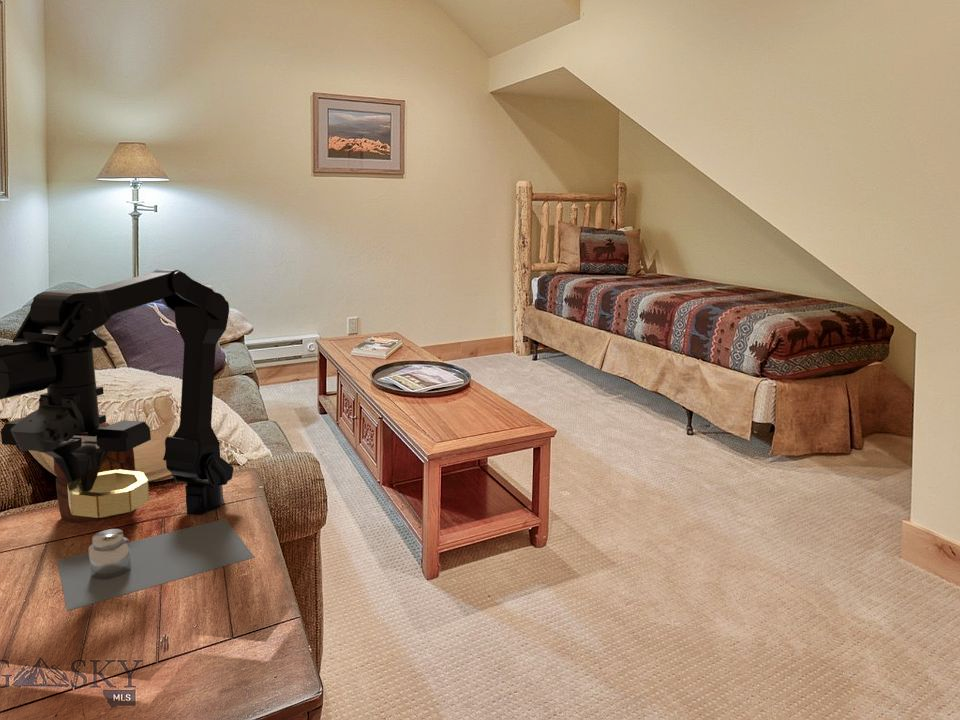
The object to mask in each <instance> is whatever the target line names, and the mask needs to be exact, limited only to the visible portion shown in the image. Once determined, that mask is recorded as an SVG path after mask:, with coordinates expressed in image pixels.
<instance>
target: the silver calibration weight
mask: <svg viewBox="0 0 960 720" xmlns="http://www.w3.org/2000/svg"><path fill="white" fill-rule="evenodd" d="M91 539H92V543H91V544H90V545H89V546H88V552H89V558H90V567H91V576H92V577H93V578H95V579H100V580H104V579H111V578H115V577H118V576H121V575H123V574H125V573H126V572H128V571H129V570H130V569H131V558H130V548H129V542H130V541H129V540H130V539H128V538H127V537H125V536H124V532H123V530H122V529H119V528H109V529H104V530H101V531H98V532H96V533H95V534H93V536H92V537H91Z"/></svg>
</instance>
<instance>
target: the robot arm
mask: <svg viewBox="0 0 960 720" xmlns="http://www.w3.org/2000/svg"><path fill="white" fill-rule="evenodd" d="M160 300H161V302H162V305H164V306H165V307H166V308H168V310H170V311H172V313H174V319H175V327H176V329H177V331H178V333H179V335H180V337H181V339H182V341H183V363H182V381H181V397H180V413H179V415H180V417H179V418H180V419H179V427H178V428H177V430H176V431H175V433H174V434H173V435H172V436H166V437H165V440H164V446H165V449H164V455H163V458H162V460H163V461H165V465H166V469H167V470H168V471H169V473H171V475H172V477H173V480H174V481H175V482H177V483H184V484H185V506H186V507H185V508H186V514H187V515H193V516H194V515H195V516H197V515H198V516H202V515H203V514H207V513H208V512H212V511H215V510H217V509H220V507H222V506H223V504H224V491H223V486H226V485H227V484H228V482H229V481H232V478H233V473H234V466H232V465H231V464H230V463H229V462H227V461H226V460H225V459H223V458H222V457H221V445H220V443H221V442H220V441H219V439H218V437H217V435H216V433H215V431H214V429H213V426H212V417H213V416H212V413H213V402H214V401H213V400H214V399H213V398H214V383H215V382H214V381H215V367H216V366H215V365H216V364H215V362H216V347H217V343H218V342H219V341H220V339H221V337H222V336H223V335H224V334H225V332H226V330H227V327H228V321H229V314H230V305H229V301H227V299H226V298H225V297H224V295H223V294H221V293H219V292H216V291H215V290H214V289H212V288H210V287H208V286H206V285H204V284H202V283H201V282H198V281H196V280H195V279H193V278H191V277H190V276H189V275H188V274H187V273H185V272H183V271H181V270H179V269H165V268H164V269H159V268H158V269H156V270H154V271H151V272H150V273H146V274H142V275H139V276H135V277H131V278H128V279H124V280H120V281H117V282H113V283H109V284H105V285H101V286H98V287H95V288H85V289H82V288H81V289H62V290H61V289H60V290H49V291H48V290H47V291H42V292H40V293H37V294H36V295H35V296H34V297H33V300H32V302H31V304H30V309H29V311H28V313H27V315H26V317H25V318H24V320H23V322H22V323H21V325H20V327H19V329H18V331H17V332H16V334H15V335H14V337H13V339H12V342H8V343H7V342H6V343H0V400H3V399H10V398H14V397H18V396H23V395H27V394H32V393H36V392H40V391H45V390H46V391H47V392H44V393H41V394H39V398H38V409H36V410H34V411H31V412H30V413H29V414H27V415H25V416H24V417H21V418H17V419H14V420H11V421H9V422H5V423H4V425H3V427H2V429H1V430H0V438H1V445H4V446H5V445H7V446H18V448H19V450H20V451H21V452H27V451H31V452H32V451H33V452H35V451H36V452H38V453H44V454H45V455H48V456H49V457H51V458H54V459H53V461H54V460H55V461H56V462H57V464H58V465H59V467H60V468H61V470H62V472H63V474H64V475H65V477H66V479H67V481H68V482H69V483H71V482H73V481H75V480H77V479H79V478H81V483H82V487H83V491H86V492H89V491H90V490H91V489H92V487H93V485H94V482H95V480H96V478H97V475H98V473H99V470H100V468H101V466H102V463H103V461H104V459H105V457H106V455H107V454H108V452H109V451H112V452H124V451H128V450H130V449H132V448H133V449H134V448H137V447H138V446H140V445H142V444H145V443H147V442H149V441H151V440H152V438H151V436H152V435H151V427H150V426H149V425H148V423H146V422H145V421H144V420H143V421H140V420H125V419H123V420H120V421H117V422H114V423H112V424H110V425H109V426H107V427H100V424H102V423H104V422H106V423H107V416H106V414H100V413H99V412H100V411H99V402H98V401H99V400H98V396H101V395H104V394H105V393H104V386H97V381H96V379H97V378H96V371H95V369H96V368H95V360H94V358H95V357H94V349H98V348H106V347H107V345H108V342H107V341H106V340H105V339H102V338H101V337H99V336H98V335H97V334H96V333H95V331H96V330H98V329H100V328H102V327H104V326H105V325H106V324H107V323H108V322H109V320H110V319H111V318H112V317H114V316H115V315H117V314H120V313H123V312H125V311H126V312H127V311H129V310H132V309H136V308H138V307H141V306H145V305H148V304H151V303H155V302H157V301H160ZM85 432H88V433H85Z"/></svg>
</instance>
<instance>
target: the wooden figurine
mask: <svg viewBox="0 0 960 720" xmlns="http://www.w3.org/2000/svg"><path fill="white" fill-rule="evenodd" d="M109 425H111V424H110V423H108V422H107V421H106V422H104V423H102V424H100V427H107V426H109ZM85 433H88V432H85ZM52 458H53V457H52ZM135 462H136V461H135V451H134V448H132V449H130V450H128V451H124V452H112V451H109V452H108V454H107V455H106V457H105V459H104V461H103V463H102V466H101V468H100V470H99V472H105V471H112V470H128V471H136V465H135V464H136V463H135ZM53 472H54V474H56V476H57V477H56V478H55V487H56V488H55V489H56V497H57V504H58V510H59V514H60V518H61V520H62V519H63V520H64V521H66V522H69V523H73V524H89V523H93V522H96V521H98V520H103V519H104V520H105V519H108V518H109V519H110V518H113V517H115V518H116V517H121V516H124V515H127V514H128V515H129V514H131V513H133V512H134V511H135V510H136V509H134V510H133V511H130V512H126V513H121V514H116V515H111V516H106V517H101V518H100V517H98V518H95V517H86V516H77V515H73V514H71V511H70V507H69V501H68V487H67V485H68V484H69V482H68V481H67V479H66V477H65V475H64V474H63V472H62V470H61V468H60V467H59V465H58V464H57V462H56V461H55V460H54V458H53Z"/></svg>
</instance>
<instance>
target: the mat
mask: <svg viewBox="0 0 960 720" xmlns="http://www.w3.org/2000/svg"><path fill="white" fill-rule="evenodd" d="M129 548H130V558H131V569H130V570H129V571H128V572H126V573H125V574H123V575H121V576H118V577H115V578H111V579H104V580H100V579H95V578H93V577H92V576H91V567H90V558H89V551H88V552H84V553H80V554H74V555H70V556H67V557H63V558H59V559H57V560H56V561H57V566H58V570H59V576H60V582H61V588H62V593H63V598H64V603H65V608H66V612H68V611H72V610H77V609H80V608H82V607H86V606H87V607H88V606H89V605H93V604H97V603H100V602H104V601H107V600H111V599H113V598H118V597H121V596H125V595H129V594H131V593H135V592H139V591H144V590H146V589H149V588H152V587H156V586H159V585H162V584H163V585H164V584H166V583H170V582H173V581H174V582H175V581H177V580H181V579H185V578H188V577H191V576H195V575H198V574H202V573H205V572H208V571H212V570H216V569H219V568H222V567H223V568H224V567H226V566H230V565H234V564H237V563H241V562H244V561H246V560H249V559H250V560H251V559H254V558H256V556H255V555H254V554H253V552H251V549H249V548H248V546H247V545H246V544H245V543H244V541H243V540H242V539H241V537H240V536H239V534H238V533H237V532H236V531H235V530H234V528H233V527H232V525H230V523H229V522H228V521H227V520H226V518H223V519H219V520H215V521H212V522H211V521H210V522H206V523H203V524H198V525H194V526H191V527H187V528H182V529H178V530H173V531H169V532H166V533H162V534H161V533H160V534H157V535H152V536H150V537H145V538H140V539H137V540H133V541H129Z"/></svg>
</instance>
